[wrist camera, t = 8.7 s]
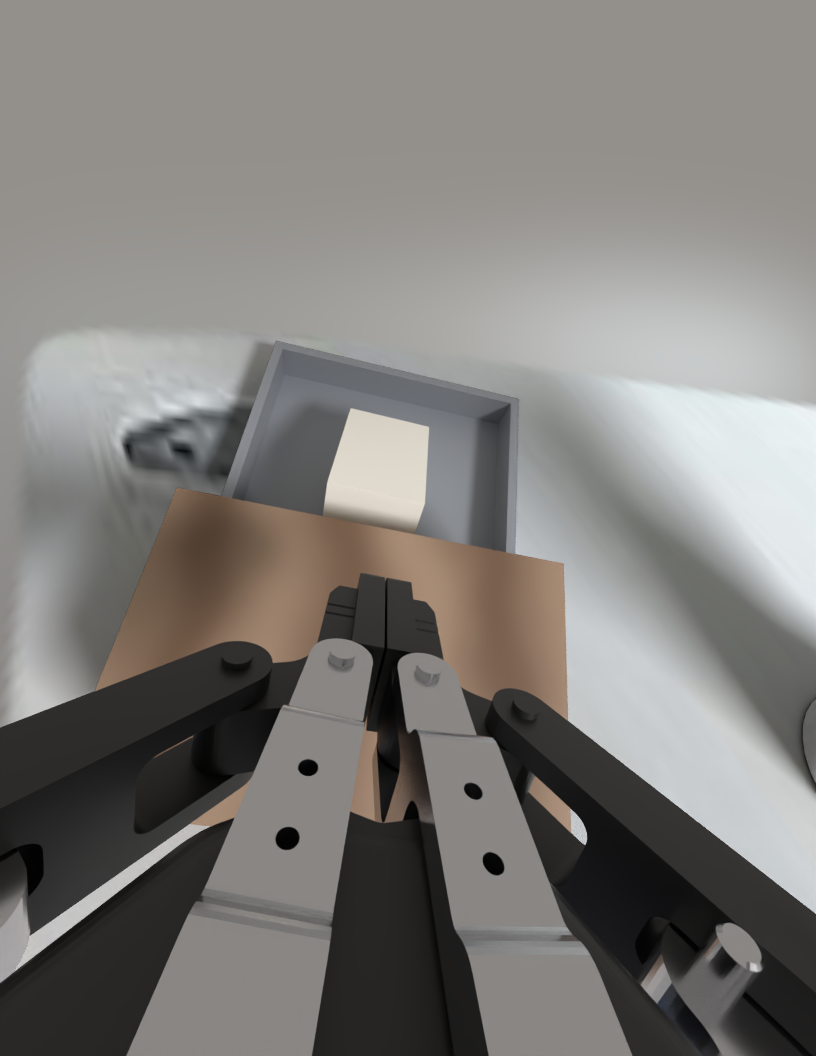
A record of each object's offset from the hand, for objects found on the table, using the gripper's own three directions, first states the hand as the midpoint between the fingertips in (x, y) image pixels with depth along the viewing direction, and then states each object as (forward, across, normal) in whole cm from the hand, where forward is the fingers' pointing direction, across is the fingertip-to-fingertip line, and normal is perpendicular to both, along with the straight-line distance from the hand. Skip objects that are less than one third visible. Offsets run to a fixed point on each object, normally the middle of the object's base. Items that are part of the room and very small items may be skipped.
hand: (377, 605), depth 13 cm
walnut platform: (+10, 0, +11) cm, 15 cm away
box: (+20, 0, +1) cm, 20 cm away
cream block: (+11, 0, +2) cm, 12 cm away
